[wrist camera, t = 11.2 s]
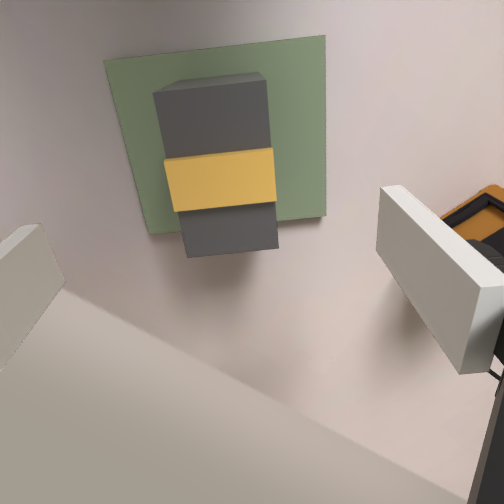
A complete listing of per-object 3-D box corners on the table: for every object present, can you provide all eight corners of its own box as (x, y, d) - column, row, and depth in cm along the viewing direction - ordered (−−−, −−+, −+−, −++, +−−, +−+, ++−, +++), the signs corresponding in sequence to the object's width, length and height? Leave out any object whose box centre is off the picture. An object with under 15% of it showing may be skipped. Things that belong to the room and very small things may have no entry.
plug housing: (176, 80, 27) (148, 93, 19) (258, 71, 27) (268, 80, 19) (199, 206, 32) (185, 262, 24) (269, 199, 32) (280, 252, 23)
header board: (108, 60, 28) (85, 61, 23) (321, 35, 27) (337, 32, 23) (151, 229, 34) (139, 253, 30) (323, 210, 34) (335, 233, 30)
